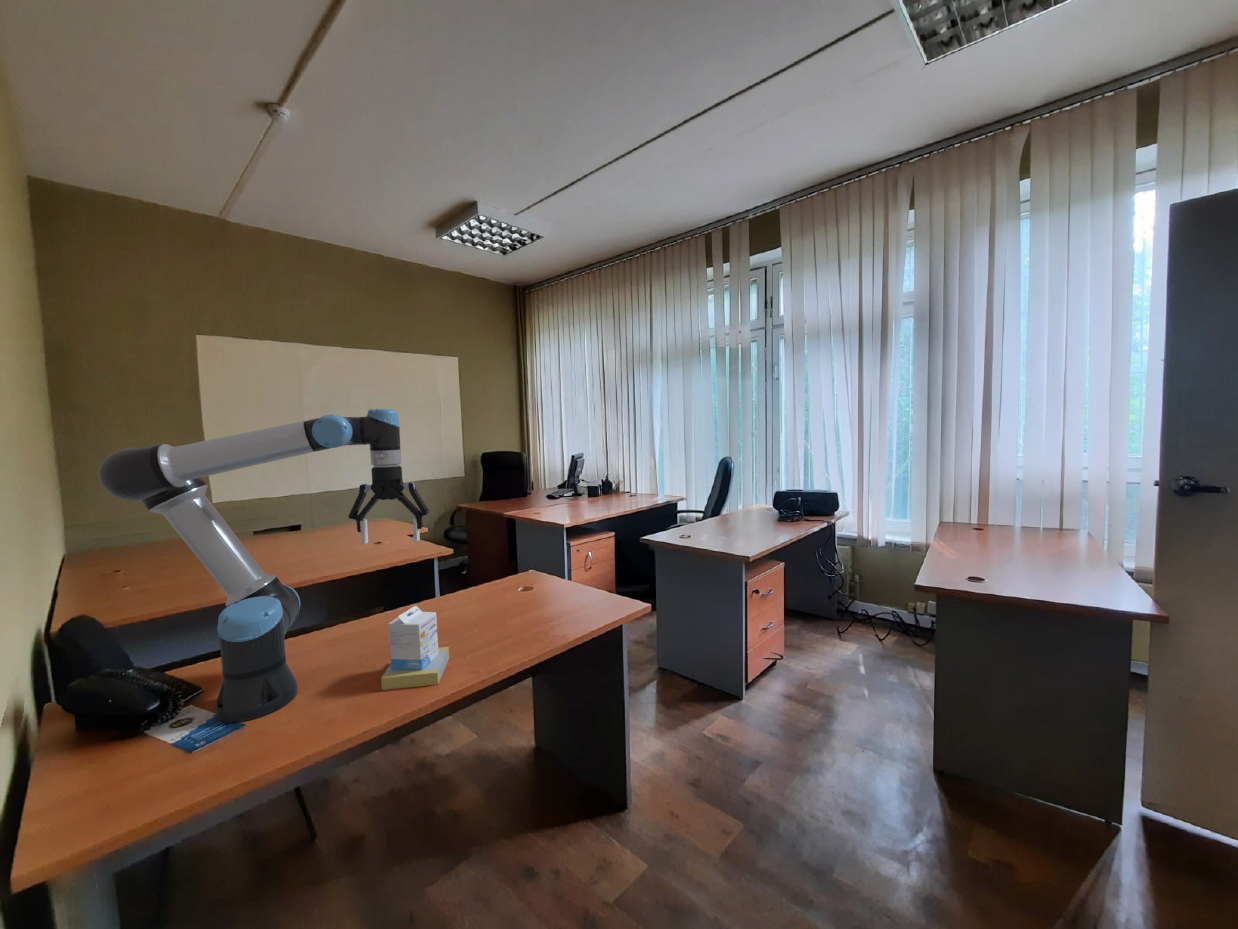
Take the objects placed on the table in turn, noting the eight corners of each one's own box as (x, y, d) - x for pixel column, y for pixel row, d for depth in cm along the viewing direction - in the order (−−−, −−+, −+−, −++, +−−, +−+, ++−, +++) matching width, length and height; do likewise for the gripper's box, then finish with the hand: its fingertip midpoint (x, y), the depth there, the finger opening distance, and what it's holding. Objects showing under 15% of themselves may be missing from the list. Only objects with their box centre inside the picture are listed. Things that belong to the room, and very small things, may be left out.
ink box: (421, 670, 117) (418, 618, 116) (390, 669, 118) (387, 617, 117) (439, 654, 126) (436, 605, 125) (410, 652, 127) (407, 604, 126)
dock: (381, 690, 114) (381, 678, 114) (399, 662, 128) (398, 651, 128) (438, 684, 116) (437, 672, 116) (449, 657, 130) (448, 646, 130)
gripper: (331, 468, 124) (337, 548, 126) (431, 465, 128) (435, 542, 129) (343, 466, 131) (348, 541, 133) (437, 463, 135) (441, 536, 137)
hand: (391, 542), depth 131 cm, fingers open, 13 cm apart
